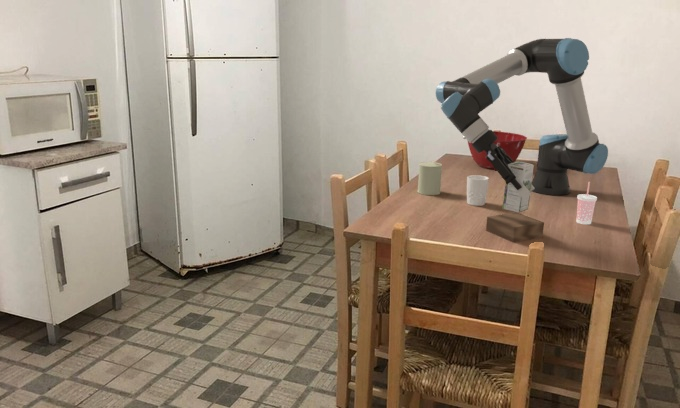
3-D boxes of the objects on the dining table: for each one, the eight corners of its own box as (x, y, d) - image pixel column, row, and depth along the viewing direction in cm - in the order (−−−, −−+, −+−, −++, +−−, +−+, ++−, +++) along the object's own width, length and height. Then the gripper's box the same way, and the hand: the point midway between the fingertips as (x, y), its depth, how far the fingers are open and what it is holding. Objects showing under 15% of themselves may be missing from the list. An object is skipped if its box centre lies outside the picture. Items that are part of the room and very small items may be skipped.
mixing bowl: (531, 173, 259) (535, 140, 255) (470, 172, 259) (473, 139, 255) (514, 161, 286) (517, 131, 282) (458, 160, 287) (461, 130, 282)
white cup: (482, 207, 202) (485, 180, 199) (462, 204, 206) (464, 178, 203) (489, 202, 208) (491, 176, 206) (469, 199, 212) (471, 174, 210)
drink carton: (511, 205, 175) (516, 160, 171) (529, 209, 171) (534, 163, 167) (502, 209, 172) (506, 163, 168) (519, 213, 167) (524, 166, 164)
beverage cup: (581, 218, 190) (586, 178, 186) (597, 223, 185) (603, 182, 181) (569, 221, 187) (575, 180, 183) (586, 226, 182) (592, 184, 178)
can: (440, 196, 217) (442, 165, 214) (416, 194, 219) (418, 164, 216) (440, 190, 226) (442, 161, 223) (418, 188, 228) (419, 160, 224)
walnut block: (514, 226, 182) (515, 212, 180) (542, 237, 171) (544, 222, 170) (485, 231, 176) (487, 216, 175) (512, 243, 166) (514, 227, 165)
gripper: (477, 139, 181) (524, 193, 179) (463, 149, 164) (514, 209, 162) (495, 124, 178) (543, 179, 175) (482, 132, 160) (535, 193, 158)
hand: (529, 193), depth 168 cm, fingers closed on drink carton, 7 cm apart
